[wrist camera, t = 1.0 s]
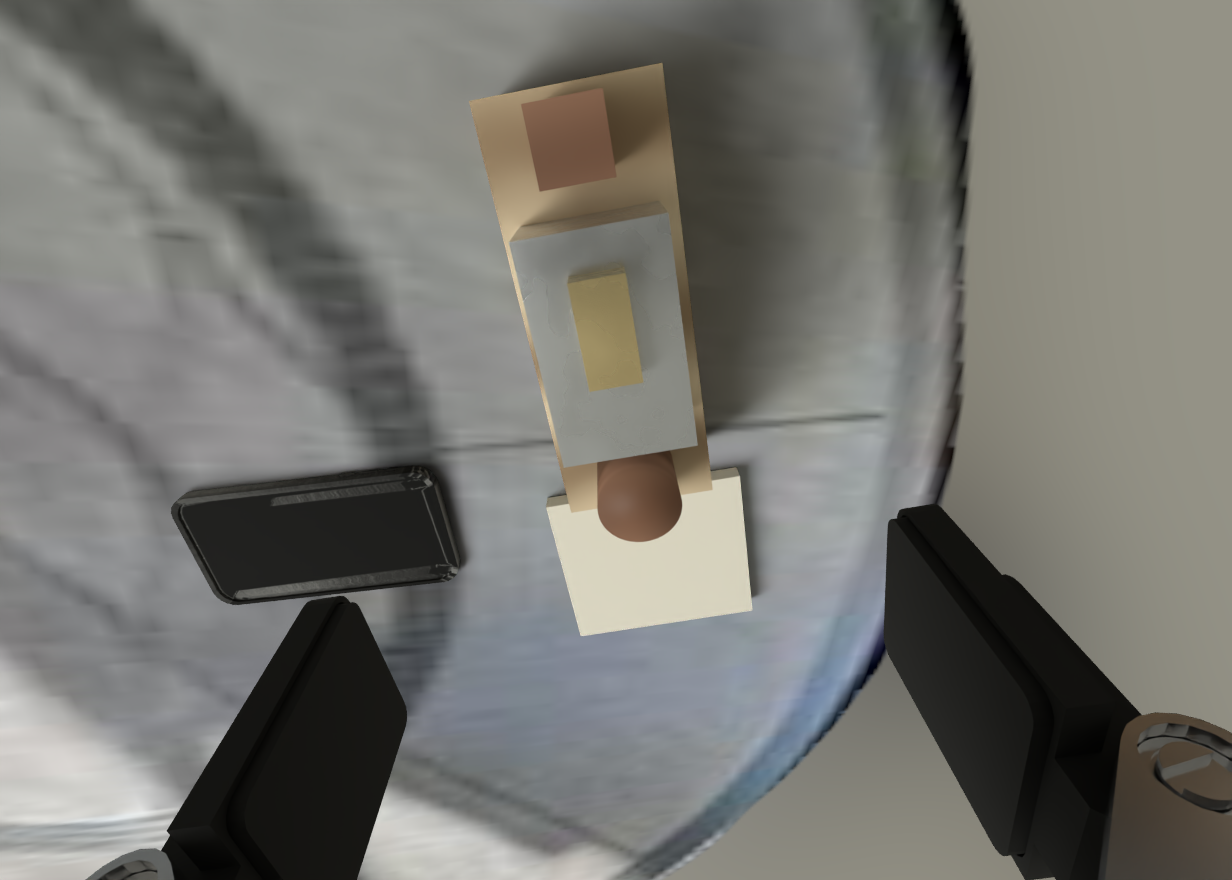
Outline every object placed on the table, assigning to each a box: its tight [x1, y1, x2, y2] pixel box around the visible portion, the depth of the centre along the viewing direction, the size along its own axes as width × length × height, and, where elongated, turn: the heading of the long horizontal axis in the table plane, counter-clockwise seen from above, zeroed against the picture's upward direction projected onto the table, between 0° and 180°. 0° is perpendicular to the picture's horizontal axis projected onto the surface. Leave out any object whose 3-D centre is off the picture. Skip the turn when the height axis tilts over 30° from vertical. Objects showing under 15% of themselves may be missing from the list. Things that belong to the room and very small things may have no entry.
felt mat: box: [546, 467, 752, 636], centre depth 37 cm, size 10×11×1 cm
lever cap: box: [509, 201, 698, 468], centre depth 24 cm, size 9×6×4 cm, turn 10°
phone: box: [171, 466, 460, 605], centre depth 36 cm, size 8×1×15 cm
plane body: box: [469, 63, 713, 542], centre depth 26 cm, size 18×7×10 cm, turn 10°
